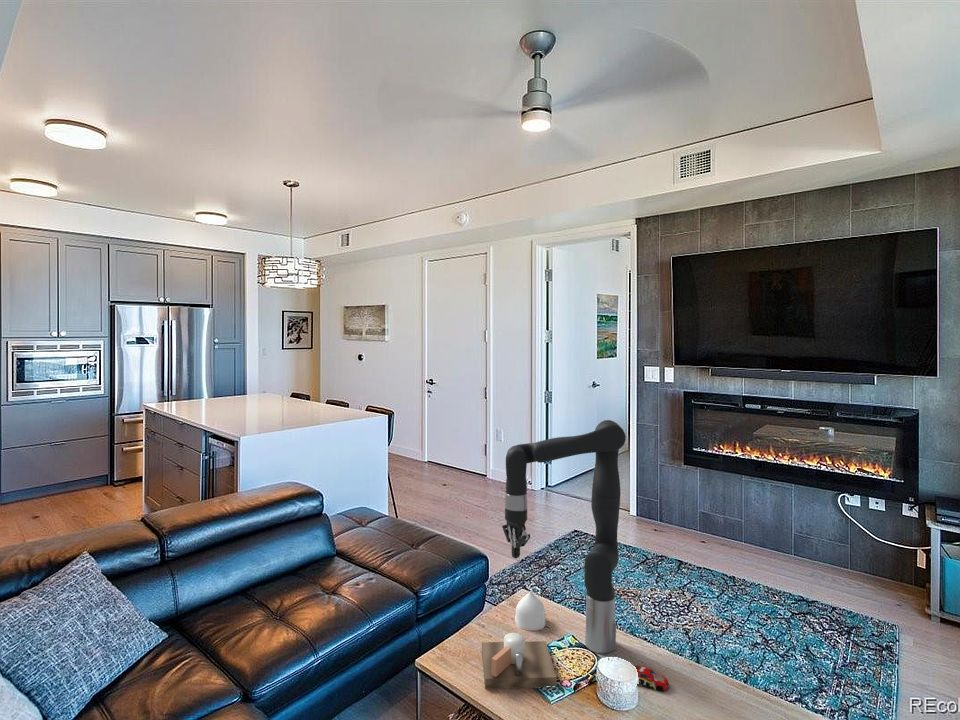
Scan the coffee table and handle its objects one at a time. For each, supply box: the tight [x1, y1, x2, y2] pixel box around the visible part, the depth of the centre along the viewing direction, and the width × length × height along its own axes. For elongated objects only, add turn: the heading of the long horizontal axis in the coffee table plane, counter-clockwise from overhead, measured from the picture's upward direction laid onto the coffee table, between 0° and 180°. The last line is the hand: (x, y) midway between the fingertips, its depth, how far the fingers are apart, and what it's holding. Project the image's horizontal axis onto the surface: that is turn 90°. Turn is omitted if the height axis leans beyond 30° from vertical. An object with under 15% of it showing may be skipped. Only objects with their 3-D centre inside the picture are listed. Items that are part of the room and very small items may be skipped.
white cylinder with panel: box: [491, 632, 526, 677], centre depth 155 cm, size 14×6×6 cm, turn 143°
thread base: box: [481, 640, 558, 690], centre depth 158 cm, size 21×18×9 cm
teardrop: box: [514, 589, 546, 631], centre depth 184 cm, size 11×11×12 cm
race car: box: [633, 664, 670, 693], centre depth 153 cm, size 13×5×4 cm, turn 64°
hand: (515, 557), depth 172 cm, fingers closed
